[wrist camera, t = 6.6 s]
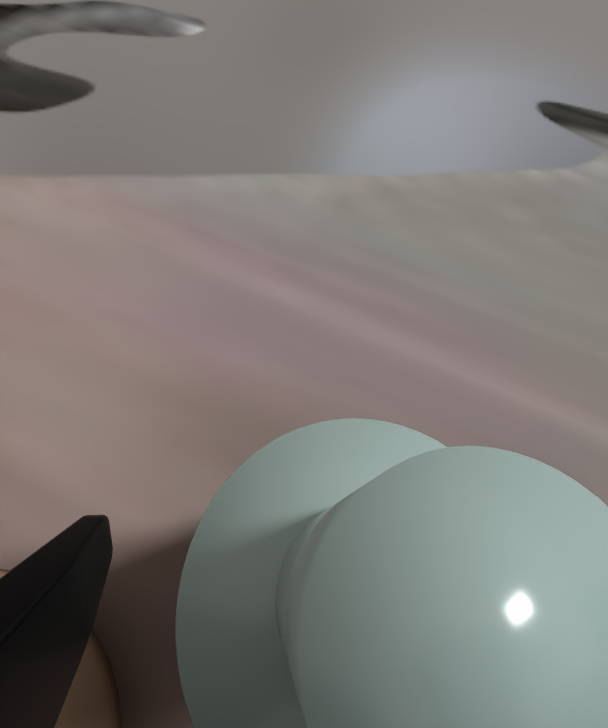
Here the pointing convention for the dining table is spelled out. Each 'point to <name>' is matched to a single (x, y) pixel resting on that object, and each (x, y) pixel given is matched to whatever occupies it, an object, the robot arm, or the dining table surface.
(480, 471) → the ceramic bottle
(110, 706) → the tan flat disc
